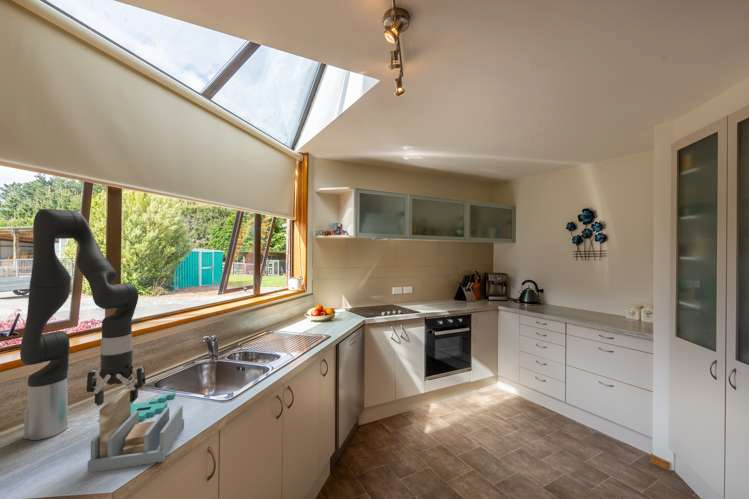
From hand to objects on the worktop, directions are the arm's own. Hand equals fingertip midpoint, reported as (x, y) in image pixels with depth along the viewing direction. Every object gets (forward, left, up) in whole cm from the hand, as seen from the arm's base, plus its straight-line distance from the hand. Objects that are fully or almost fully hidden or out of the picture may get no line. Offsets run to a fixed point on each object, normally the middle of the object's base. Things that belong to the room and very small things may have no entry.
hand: (116, 402), depth 96 cm
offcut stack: (+6, 0, -15) cm, 16 cm away
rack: (+6, 0, -15) cm, 16 cm away
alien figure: (-5, +25, -15) cm, 30 cm away
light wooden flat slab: (0, 0, -15) cm, 15 cm away
